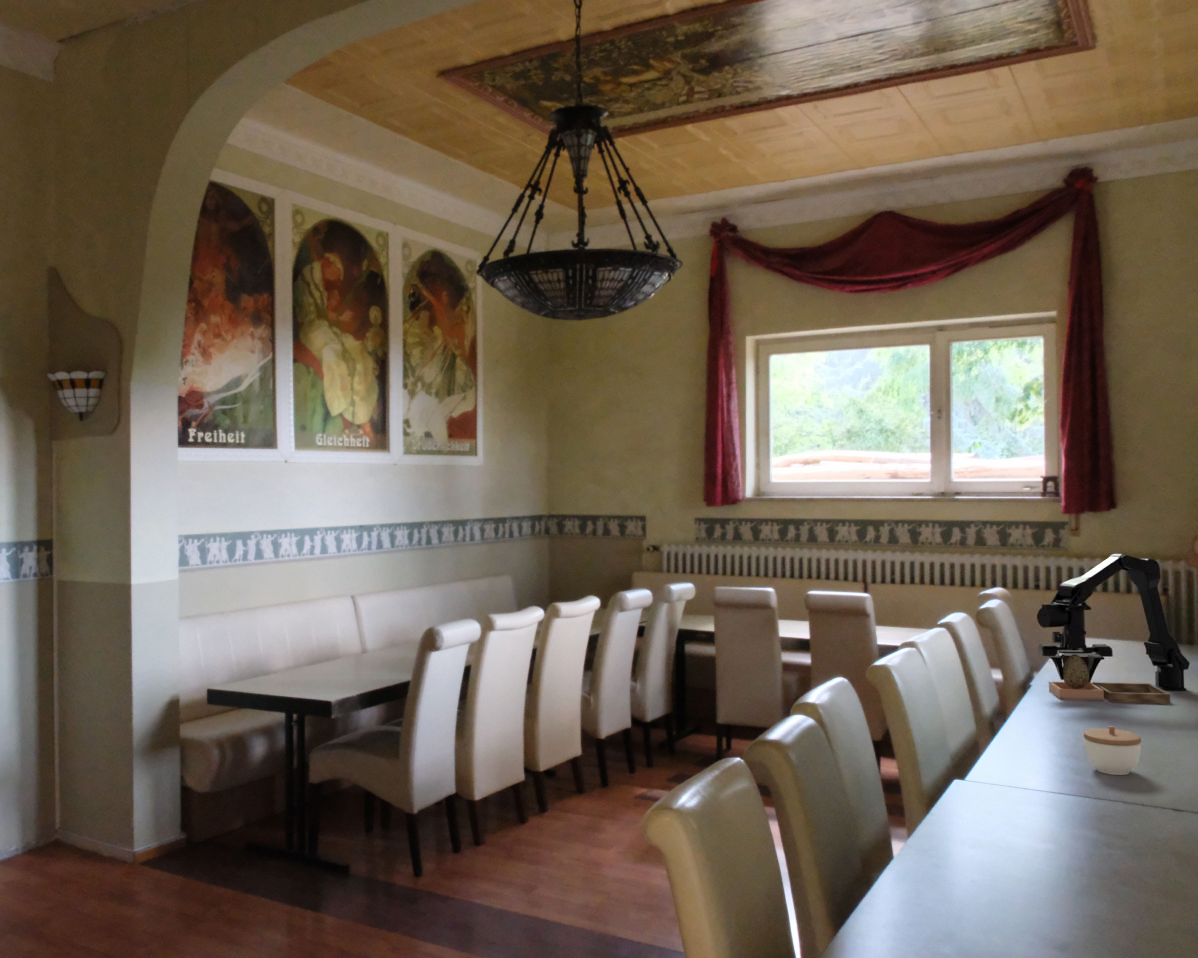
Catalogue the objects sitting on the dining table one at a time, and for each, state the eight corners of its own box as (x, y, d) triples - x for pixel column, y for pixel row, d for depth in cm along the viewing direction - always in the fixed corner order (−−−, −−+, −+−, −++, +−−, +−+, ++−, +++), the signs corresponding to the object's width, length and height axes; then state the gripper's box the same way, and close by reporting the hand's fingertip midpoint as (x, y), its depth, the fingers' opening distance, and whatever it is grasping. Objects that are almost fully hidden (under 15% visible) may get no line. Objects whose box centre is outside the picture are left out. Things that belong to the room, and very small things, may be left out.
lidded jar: (1140, 781, 198) (1139, 734, 198) (1082, 773, 203) (1080, 728, 204) (1143, 768, 207) (1142, 723, 207) (1087, 761, 213) (1086, 718, 213)
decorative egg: (1093, 691, 277) (1091, 656, 277) (1066, 691, 278) (1064, 656, 278) (1085, 686, 284) (1084, 652, 284) (1059, 686, 285) (1058, 652, 285)
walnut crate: (1150, 691, 284) (1149, 683, 284) (1170, 703, 269) (1170, 694, 269) (1092, 690, 287) (1092, 682, 287) (1109, 701, 272) (1109, 692, 272)
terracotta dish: (1091, 691, 285) (1091, 682, 285) (1103, 700, 274) (1103, 690, 274) (1049, 691, 288) (1048, 681, 288) (1059, 699, 276) (1059, 689, 276)
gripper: (1100, 622, 287) (1101, 675, 287) (1032, 622, 291) (1034, 674, 291) (1112, 627, 276) (1114, 682, 276) (1042, 627, 280) (1043, 681, 280)
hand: (1075, 679), depth 281 cm, fingers closed on decorative egg, 7 cm apart
